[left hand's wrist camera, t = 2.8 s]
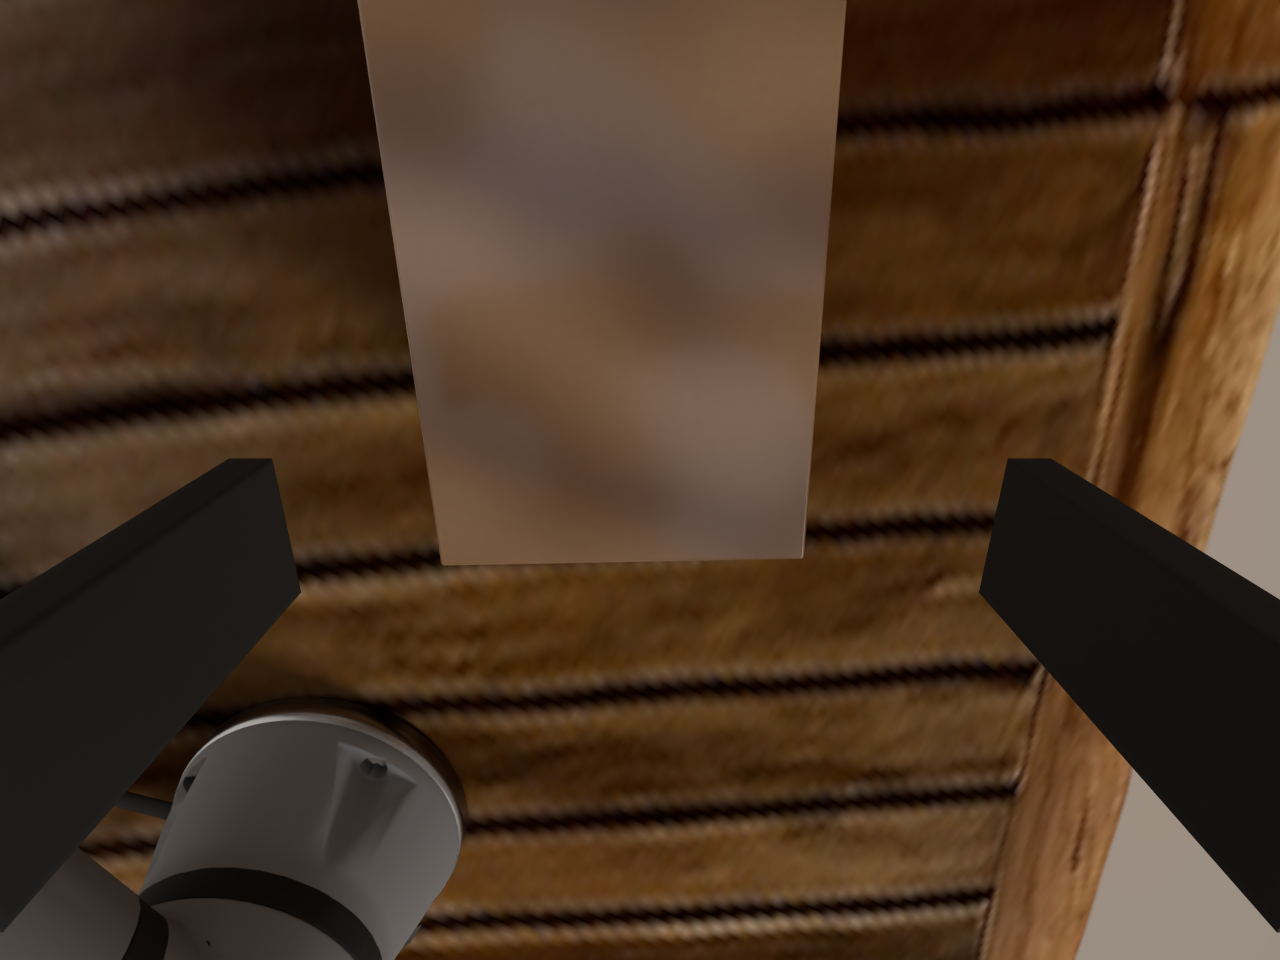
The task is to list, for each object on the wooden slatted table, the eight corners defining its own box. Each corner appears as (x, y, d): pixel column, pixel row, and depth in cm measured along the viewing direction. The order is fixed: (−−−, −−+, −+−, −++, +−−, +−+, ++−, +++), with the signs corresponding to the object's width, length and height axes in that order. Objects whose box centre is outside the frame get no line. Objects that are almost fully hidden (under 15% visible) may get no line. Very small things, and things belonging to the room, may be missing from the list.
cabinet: (453, -142, 23) (287, -447, 12) (769, -151, 23) (883, -467, 12) (511, 440, 31) (440, 566, 20) (747, 435, 30) (804, 559, 20)
